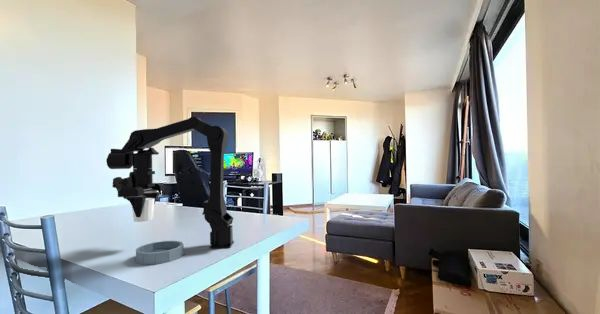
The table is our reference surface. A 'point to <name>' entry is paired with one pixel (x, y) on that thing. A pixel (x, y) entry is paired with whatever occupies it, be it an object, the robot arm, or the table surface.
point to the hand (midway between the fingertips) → (143, 215)
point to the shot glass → (146, 211)
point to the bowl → (159, 252)
